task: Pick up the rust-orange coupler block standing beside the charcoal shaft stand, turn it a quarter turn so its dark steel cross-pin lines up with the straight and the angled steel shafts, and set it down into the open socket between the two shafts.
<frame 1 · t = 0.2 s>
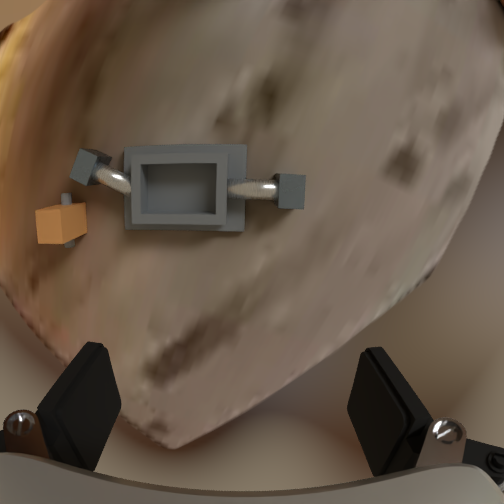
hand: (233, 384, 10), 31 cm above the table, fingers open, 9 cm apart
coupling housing: (183, 186, 38), on the table
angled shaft: (117, 175, 37), on the table
coupler: (74, 217, 39), on the table
straight shaft: (259, 188, 39), on the table
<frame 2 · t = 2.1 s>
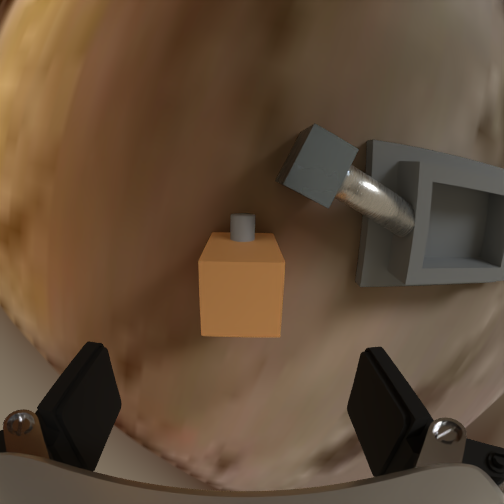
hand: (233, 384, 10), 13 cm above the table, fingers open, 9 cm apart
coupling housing: (443, 219, 22), on the table
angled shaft: (347, 189, 21), on the table
coupler: (242, 261, 23), on the table
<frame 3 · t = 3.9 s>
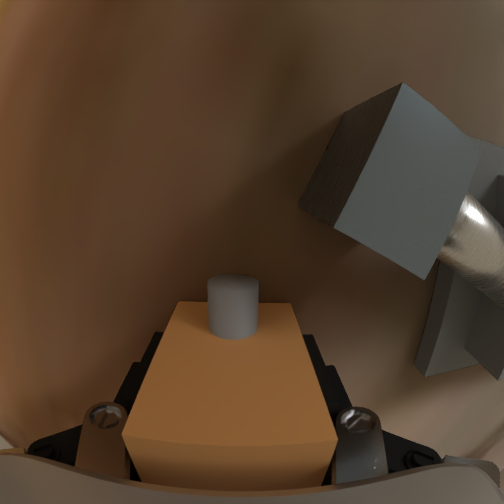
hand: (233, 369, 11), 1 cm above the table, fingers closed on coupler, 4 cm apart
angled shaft: (421, 220, 11), on the table
coupler: (234, 349, 12), on the table, touching gripper
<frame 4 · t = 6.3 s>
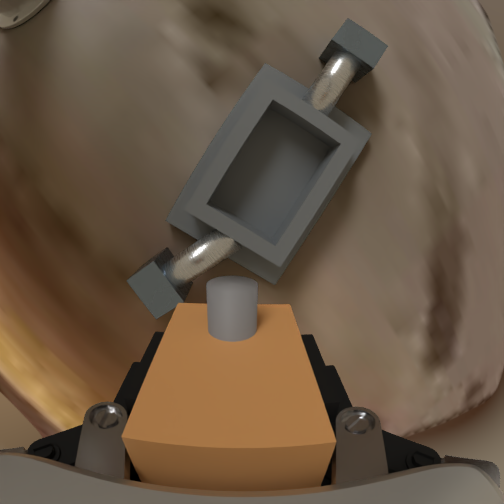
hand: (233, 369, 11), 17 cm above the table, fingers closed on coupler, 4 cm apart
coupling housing: (269, 172, 25), on the table
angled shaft: (197, 253, 27), on the table
coupler: (233, 351, 12), point 15 cm above the table, touching gripper
straight shaft: (326, 85, 24), on the table
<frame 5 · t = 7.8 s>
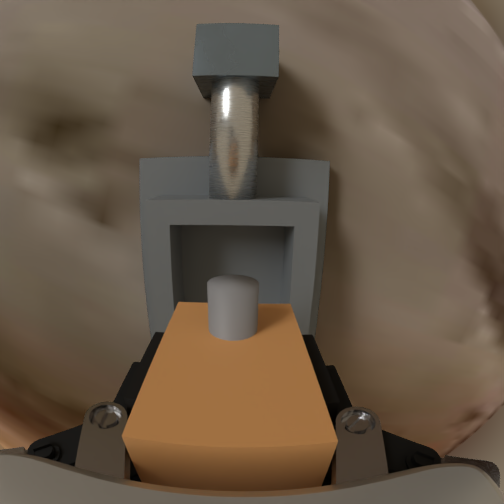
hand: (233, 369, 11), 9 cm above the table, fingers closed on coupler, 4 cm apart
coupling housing: (232, 284, 20), on the table
coupler: (234, 350, 12), point 8 cm above the table, touching gripper
straight shaft: (235, 128, 17), on the table
when the fingers open (5 cm above the table, at t = 9.0 s): coupler drops 2 cm, resting on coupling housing.
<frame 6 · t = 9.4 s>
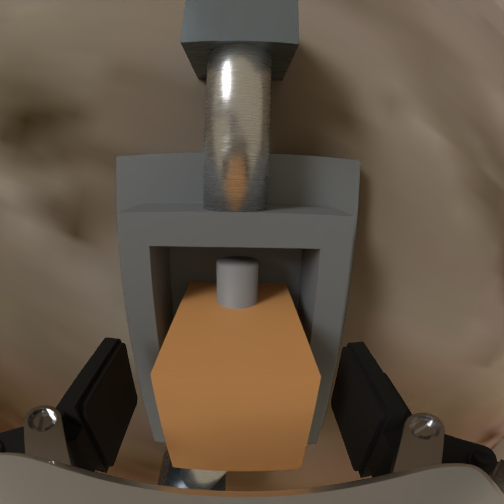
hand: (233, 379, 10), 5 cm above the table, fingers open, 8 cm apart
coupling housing: (235, 313, 16), on the table
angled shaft: (211, 431, 18), on the table
coupler: (237, 324, 14), point 1 cm above the table, touching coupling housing
straight shaft: (238, 117, 13), on the table
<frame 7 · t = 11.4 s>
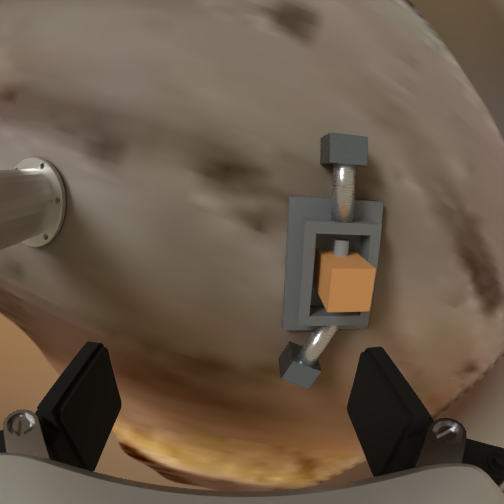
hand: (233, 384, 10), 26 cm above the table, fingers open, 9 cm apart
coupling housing: (331, 265, 35), on the table
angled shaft: (310, 335, 38), on the table
coupler: (334, 268, 34), point 1 cm above the table, touching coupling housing
straight shaft: (336, 182, 33), on the table
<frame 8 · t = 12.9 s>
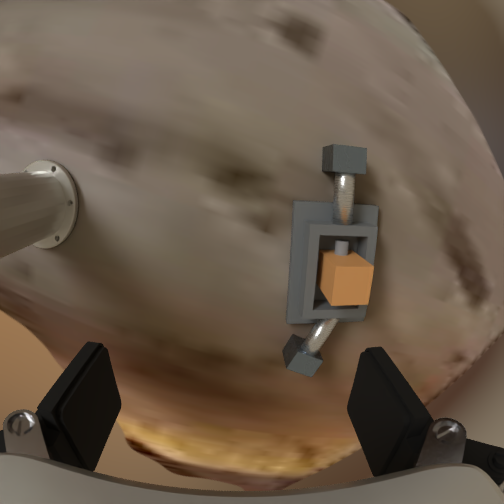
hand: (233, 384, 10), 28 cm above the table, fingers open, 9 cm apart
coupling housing: (331, 263, 39), on the table
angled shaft: (311, 327, 41), on the table
coupler: (334, 266, 38), point 1 cm above the table, touching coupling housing
straight shaft: (336, 188, 36), on the table
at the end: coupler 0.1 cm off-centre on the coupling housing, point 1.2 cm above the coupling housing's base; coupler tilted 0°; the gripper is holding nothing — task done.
